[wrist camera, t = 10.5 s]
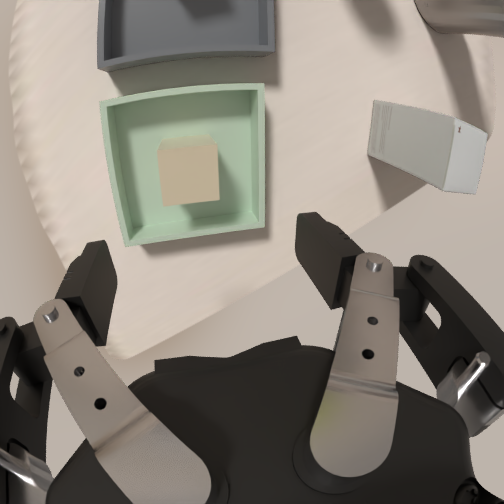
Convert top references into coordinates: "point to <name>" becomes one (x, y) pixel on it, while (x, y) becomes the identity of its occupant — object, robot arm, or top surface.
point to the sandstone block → (188, 169)
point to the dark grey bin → (181, 30)
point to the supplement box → (428, 145)
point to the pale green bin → (179, 125)
